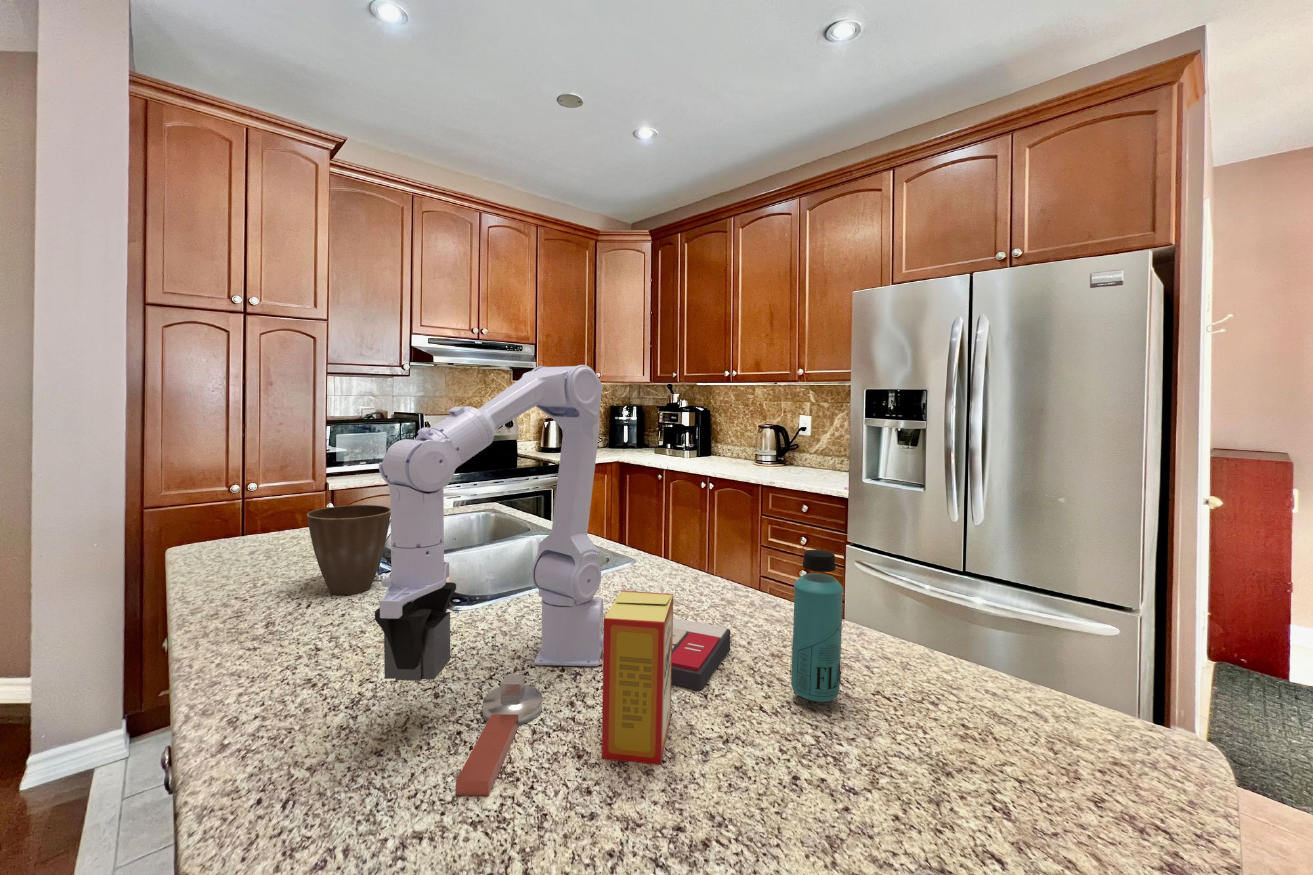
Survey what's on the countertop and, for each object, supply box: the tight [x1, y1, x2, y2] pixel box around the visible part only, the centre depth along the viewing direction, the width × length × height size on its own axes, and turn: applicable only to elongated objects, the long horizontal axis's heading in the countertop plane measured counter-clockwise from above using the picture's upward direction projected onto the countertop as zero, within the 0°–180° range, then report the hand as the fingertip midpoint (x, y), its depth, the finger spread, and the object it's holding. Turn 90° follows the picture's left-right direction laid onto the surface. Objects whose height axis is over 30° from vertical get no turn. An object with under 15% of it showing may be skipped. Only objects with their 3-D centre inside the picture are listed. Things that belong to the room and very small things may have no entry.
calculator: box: [671, 617, 731, 692], centre depth 86 cm, size 11×4×15 cm
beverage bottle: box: [789, 549, 844, 702], centre depth 75 cm, size 6×7×20 cm
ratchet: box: [455, 674, 543, 797], centre depth 66 cm, size 7×19×4 cm, turn 0°
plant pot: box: [306, 504, 391, 596], centre depth 115 cm, size 15×15×16 cm
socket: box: [383, 611, 451, 682], centre depth 68 cm, size 6×6×6 cm
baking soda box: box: [601, 590, 674, 766], centre depth 66 cm, size 10×6×16 cm
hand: (418, 655), depth 68 cm, fingers closed on socket, 6 cm apart
